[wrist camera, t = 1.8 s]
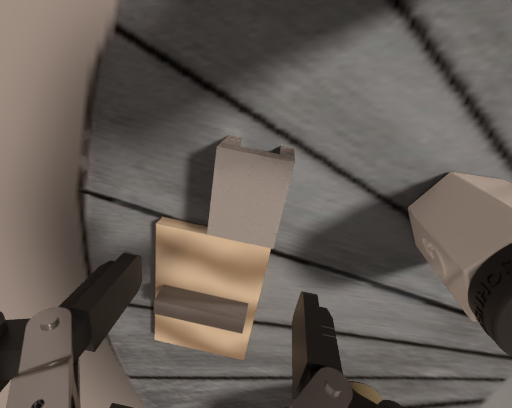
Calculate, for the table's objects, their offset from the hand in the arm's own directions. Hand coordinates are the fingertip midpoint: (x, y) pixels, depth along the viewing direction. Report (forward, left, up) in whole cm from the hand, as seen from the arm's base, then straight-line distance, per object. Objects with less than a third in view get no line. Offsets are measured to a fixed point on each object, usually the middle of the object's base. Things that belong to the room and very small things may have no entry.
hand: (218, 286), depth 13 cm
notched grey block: (0, 0, -14) cm, 14 cm away
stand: (+15, -3, -14) cm, 21 cm away
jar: (-1, +19, -14) cm, 24 cm away
